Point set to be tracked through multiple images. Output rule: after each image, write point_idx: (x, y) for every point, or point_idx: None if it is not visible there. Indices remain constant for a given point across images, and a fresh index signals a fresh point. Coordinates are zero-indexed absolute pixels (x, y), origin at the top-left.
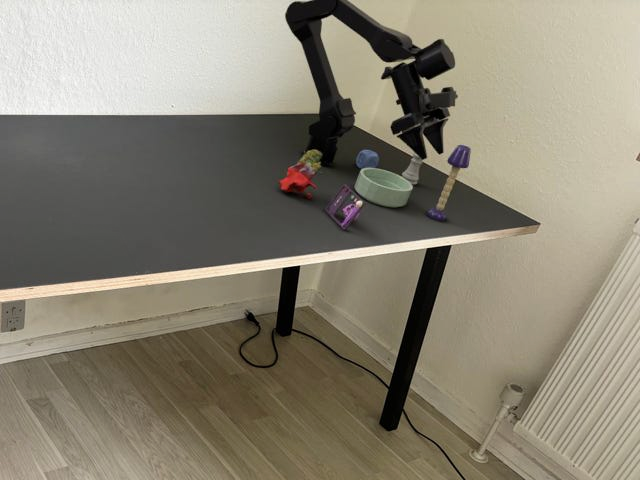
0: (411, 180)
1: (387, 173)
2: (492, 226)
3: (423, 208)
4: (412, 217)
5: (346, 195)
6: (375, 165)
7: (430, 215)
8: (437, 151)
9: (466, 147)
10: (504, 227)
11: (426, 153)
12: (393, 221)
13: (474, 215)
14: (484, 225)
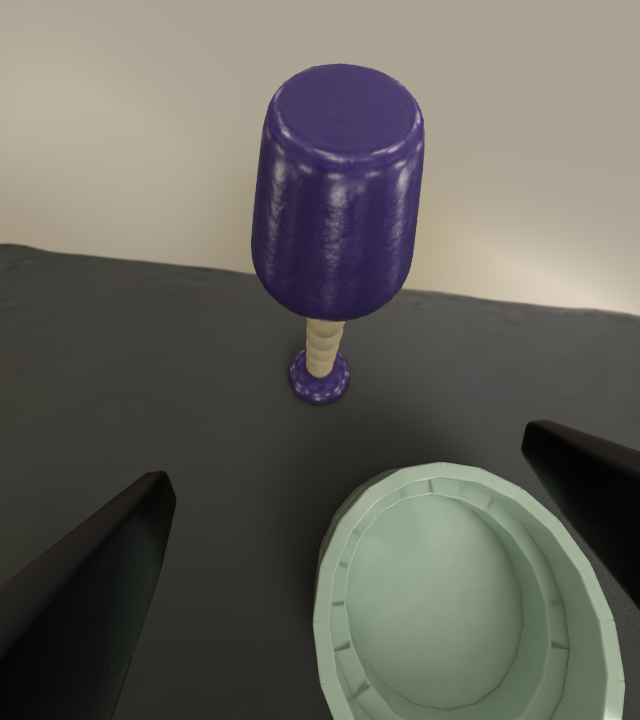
0: None
1: (351, 708)
2: (166, 277)
3: (300, 437)
4: (424, 402)
5: None
6: None
7: (348, 380)
8: (165, 530)
9: (334, 90)
10: (130, 262)
11: (564, 437)
12: (536, 405)
13: (138, 338)
14: (188, 288)
